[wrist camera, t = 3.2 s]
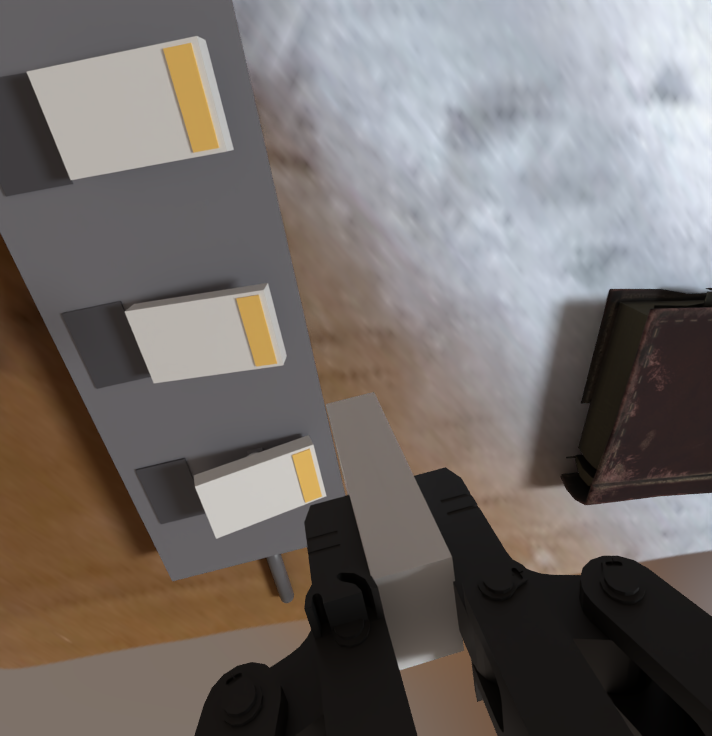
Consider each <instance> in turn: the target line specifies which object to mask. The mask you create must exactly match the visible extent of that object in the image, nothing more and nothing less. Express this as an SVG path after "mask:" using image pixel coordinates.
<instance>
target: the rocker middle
mask: <svg viewBox="0 0 712 736" xmlns="http://www.w3.org/2000/svg"><path fill="white" fill-rule="evenodd" d="M125 314H126V317H127V319H128V321H129V324H130V326H131V329H132V331H133V334H134V336H135V339H136V341H137V344H138V346H139V348H140V351H141V353H142V356H143V358H144V361H145V363H146V366H147V368H148V370H149V373H150V375H151V378H152V380H153V383H160V382H168V381H175V380H182V379H189V378H196V377H203V376H211V375H218V374H225V373H232V372H239V371H246V370H254V369H261V368H268V367H275V366H282V365H284V362H285V359H286V356H287V355H286V351H285V347H284V343H283V340H282V336H281V332H280V328H279V324H278V320H277V316H276V312H275V308H274V305H273V301H272V297H271V293H270V289H269V285H268V283H264V284H258V285H251V286H245V287H239V288H232V289H226V290H219V291H213V292H207V293H200V294H194V295H187V296H181V297H175V298H168V299H162V300H156V301H149V302H143V303H136V304H133V305H132V306H131V307H130V308H128V309H127V310H126V311H125Z"/></svg>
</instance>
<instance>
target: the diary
mask: <svg viewBox="0 0 712 736" xmlns="http://www.w3.org/2000/svg"><path fill="white" fill-rule="evenodd" d="M706 289H709V290H712V288H706ZM582 403H590V407H589V410H588V414H587V418H586V421H585V425H584V429H583V432H582V436H581V439H580V443H579V447H578V448H579V449H580V451H581V453H582V454H583V455H576V456H572V457H566V458H575V461H576V465H577V468H578V472H579V473H570V474H562V475H561V479H562V481H563V483H564V485H565V488H566V490H567V491H568V492H569V493H570V494H571V496H572V497H573V498H574V499H575V500H577V501H578V502H580V503H582V504H584V505H593V504H602V503H610V502H618V501H626V500H633V499H641V498H649V497H657V496H671V495H686V494H700V493H712V292H707V293H701V294H686V293H680V292H674V291H669V290H663V289H610V291H609V295H608V299H607V303H606V307H605V311H604V315H603V318H602V322H601V326H600V330H599V334H598V338H597V342H596V346H595V350H594V354H593V358H592V362H591V365H590V369H589V373H588V377H587V381H586V385H585V389H584V393H583V397H582V401H581V404H582Z"/></svg>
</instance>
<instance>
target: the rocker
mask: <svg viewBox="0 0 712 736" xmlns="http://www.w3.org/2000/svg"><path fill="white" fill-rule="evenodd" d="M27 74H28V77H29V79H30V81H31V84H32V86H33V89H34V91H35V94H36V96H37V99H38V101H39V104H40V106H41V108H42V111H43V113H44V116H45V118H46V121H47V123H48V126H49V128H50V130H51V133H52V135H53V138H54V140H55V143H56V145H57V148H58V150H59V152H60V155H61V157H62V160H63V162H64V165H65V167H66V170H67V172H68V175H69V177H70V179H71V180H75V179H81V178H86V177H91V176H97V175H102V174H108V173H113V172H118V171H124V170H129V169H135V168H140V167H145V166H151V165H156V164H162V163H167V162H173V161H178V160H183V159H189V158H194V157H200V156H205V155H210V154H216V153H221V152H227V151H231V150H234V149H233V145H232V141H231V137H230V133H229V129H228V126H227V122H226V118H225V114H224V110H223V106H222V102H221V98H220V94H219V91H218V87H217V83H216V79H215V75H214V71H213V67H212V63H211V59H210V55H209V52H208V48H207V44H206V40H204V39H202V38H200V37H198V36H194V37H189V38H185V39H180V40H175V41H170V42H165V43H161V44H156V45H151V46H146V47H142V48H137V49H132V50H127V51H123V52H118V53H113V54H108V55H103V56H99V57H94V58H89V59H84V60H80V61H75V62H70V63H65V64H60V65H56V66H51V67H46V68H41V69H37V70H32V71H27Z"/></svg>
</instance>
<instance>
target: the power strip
mask: <svg viewBox="0 0 712 736" xmlns="http://www.w3.org/2000/svg"><path fill="white" fill-rule="evenodd" d="M194 36H198V37H200V38H202V39H204V40H206V44H207V48H208V52H209V55H210V59H211V63H212V67H213V71H214V75H215V79H216V83H217V87H218V91H219V94H220V98H221V102H222V106H223V110H224V114H225V118H226V122H227V126H228V129H229V133H230V137H231V141H232V145H233V149H234V150H231V151H227V152H221V153H216V154H210V155H205V156H200V157H194V158H189V159H183V160H178V161H173V162H167V163H162V164H156V165H151V166H145V167H140V168H135V169H129V170H124V171H118V172H113V173H108V174H102V175H97V176H91V177H86V178H81V179H75V180H71V179H70V177H69V175H68V172H67V170H66V167H65V165H64V162H63V160H62V157H61V155H60V152H59V150H58V148H57V145H56V143H55V140H54V138H53V135H52V133H51V130H50V128H49V126H48V123H47V121H46V118H45V116H44V113H43V111H42V108H41V106H40V104H39V101H38V99H37V96H36V94H35V91H34V89H33V86H32V84H31V81H30V79H29V77H28V74H27V71H32V70H37V69H41V68H46V67H51V66H56V65H60V64H65V63H70V62H75V61H80V60H84V59H89V58H94V57H99V56H103V55H108V54H113V53H118V52H123V51H127V50H132V49H137V48H142V47H146V46H151V45H156V44H161V43H165V42H170V41H175V40H180V39H185V38H189V37H194ZM0 233H1V235H2V237H3V239H4V241H5V243H6V245H7V247H8V249H9V251H10V253H11V255H12V257H13V259H14V261H15V263H16V265H17V268H18V270H19V272H20V274H21V276H22V278H23V280H24V282H25V284H26V286H27V288H28V290H29V292H30V294H31V296H32V298H33V300H34V302H35V304H36V306H37V308H38V310H39V312H40V314H41V316H42V318H43V320H44V322H45V324H46V326H47V328H48V330H49V332H50V334H51V336H52V338H53V340H54V342H55V344H56V346H57V349H58V351H59V353H60V355H61V357H62V359H63V361H64V363H65V365H66V367H67V369H68V371H69V373H70V375H71V377H72V379H73V381H74V383H75V385H76V387H77V389H78V391H79V393H80V395H81V397H82V399H83V401H84V403H85V405H86V407H87V409H88V411H89V413H90V415H91V417H92V419H93V421H94V423H95V425H96V427H97V430H98V432H99V434H100V436H101V438H102V440H103V442H104V444H105V446H106V448H107V450H108V452H109V454H110V456H111V458H112V460H113V462H114V464H115V466H116V468H117V470H118V472H119V474H120V476H121V478H122V480H123V482H124V484H125V486H126V488H127V490H128V492H129V494H130V496H131V498H132V500H133V502H134V504H135V506H136V508H137V511H138V513H139V515H140V517H141V519H142V521H143V523H144V525H145V527H146V529H147V531H148V533H149V535H150V537H151V539H152V541H153V543H154V545H155V547H156V549H157V551H158V553H159V555H160V557H161V559H162V561H163V563H164V565H165V567H166V569H167V571H168V573H169V575H170V577H171V579H172V581H175V580H179V579H183V578H187V577H191V576H195V575H199V574H203V573H207V572H211V571H215V570H219V569H222V568H226V567H230V566H234V565H238V564H242V563H246V562H250V561H254V560H258V559H262V558H266V559H267V561H268V564H269V567H270V570H271V573H272V576H273V578H274V581H275V584H276V587H277V590H278V593H279V595H280V598H281V600H282V601H283V602H284V603H289V602H291V601H292V600H293V597H294V593H293V590H292V587H291V584H290V581H289V578H288V575H287V572H286V569H285V566H284V563H283V560H282V557H281V554H282V553H286V552H289V551H293V550H297V549H301V548H305V547H307V540H306V533H305V525H304V521H305V519H306V516H307V513H308V511H309V508H310V505H314V504H317V503H321V502H325V501H328V500H332V499H336V498H339V497H343V496H345V492H344V488H343V483H342V479H341V475H340V470H339V466H338V461H337V457H336V453H335V448H334V444H333V440H332V435H331V431H330V427H329V422H328V418H327V413H326V409H325V405H324V400H323V396H322V392H321V387H320V383H319V378H318V374H317V370H316V365H315V361H314V357H313V352H312V348H311V344H310V339H309V335H308V330H307V326H306V322H305V317H304V313H303V309H302V304H301V300H300V295H299V291H298V287H297V282H296V278H295V274H294V269H293V265H292V261H291V256H290V252H289V247H288V243H287V239H286V234H285V230H284V226H283V221H282V217H281V212H280V208H279V204H278V199H277V195H276V191H275V186H274V182H273V178H272V173H271V169H270V164H269V160H268V156H267V151H266V147H265V143H264V138H263V134H262V129H261V125H260V121H259V116H258V112H257V108H256V103H255V99H254V95H253V90H252V86H251V81H250V77H249V73H248V68H247V64H246V60H245V55H244V51H243V46H242V42H241V38H240V33H239V29H238V25H237V20H236V16H235V12H234V7H233V3H232V0H0ZM264 283H268V285H269V289H270V293H271V297H272V301H273V305H274V308H275V312H276V316H277V320H278V324H279V328H280V332H281V336H282V340H283V343H284V347H285V351H286V355H287V356H286V359H285V362H284V365H282V366H275V367H268V368H261V369H254V370H246V371H239V372H232V373H225V374H218V375H211V376H203V377H196V378H189V379H182V380H175V381H168V382H160V383H153V380H152V378H151V375H150V373H149V370H148V368H147V366H146V363H145V361H144V358H143V356H142V353H141V351H140V348H139V346H138V344H137V341H136V339H135V336H134V334H133V331H132V329H131V326H130V324H129V321H128V319H127V317H126V314H125V311H126V310H127V309H128V308H130V307H131V306H132V305H133V304H136V303H143V302H149V301H156V300H162V299H168V298H175V297H181V296H187V295H194V294H200V293H207V292H213V291H219V290H226V289H232V288H239V287H245V286H251V285H258V284H264ZM308 435H309V437H310V439H311V441H312V443H313V445H314V449H315V453H316V457H317V461H318V465H319V469H320V473H321V477H322V480H323V484H324V488H325V492H326V497H323V498H320V499H318V500H315V501H313V502H310V503H308V504H305V505H302V506H300V507H297V508H295V509H292V510H289V511H287V512H284V513H282V514H279V515H277V516H274V517H271V518H269V519H266V520H264V521H261V522H258V523H256V524H253V525H251V526H248V527H246V528H243V529H240V530H238V531H235V532H233V533H230V534H227V535H225V536H222V537H220V538H217V539H216V537H215V535H214V532H213V530H212V527H211V525H210V522H209V520H208V517H207V515H206V513H205V510H204V508H203V505H202V503H201V500H200V498H199V496H198V493H197V491H196V488H195V483H194V475H196V474H199V473H202V472H205V471H208V470H211V469H213V468H216V467H219V466H222V465H225V464H228V463H231V462H233V461H236V460H239V459H242V458H245V457H247V456H248V455H249V454H251V453H255V452H258V453H259V452H262V451H265V450H268V449H270V448H273V447H276V446H279V445H282V444H285V443H288V442H290V441H293V440H296V439H299V438H302V437H305V436H308Z"/></svg>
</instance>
